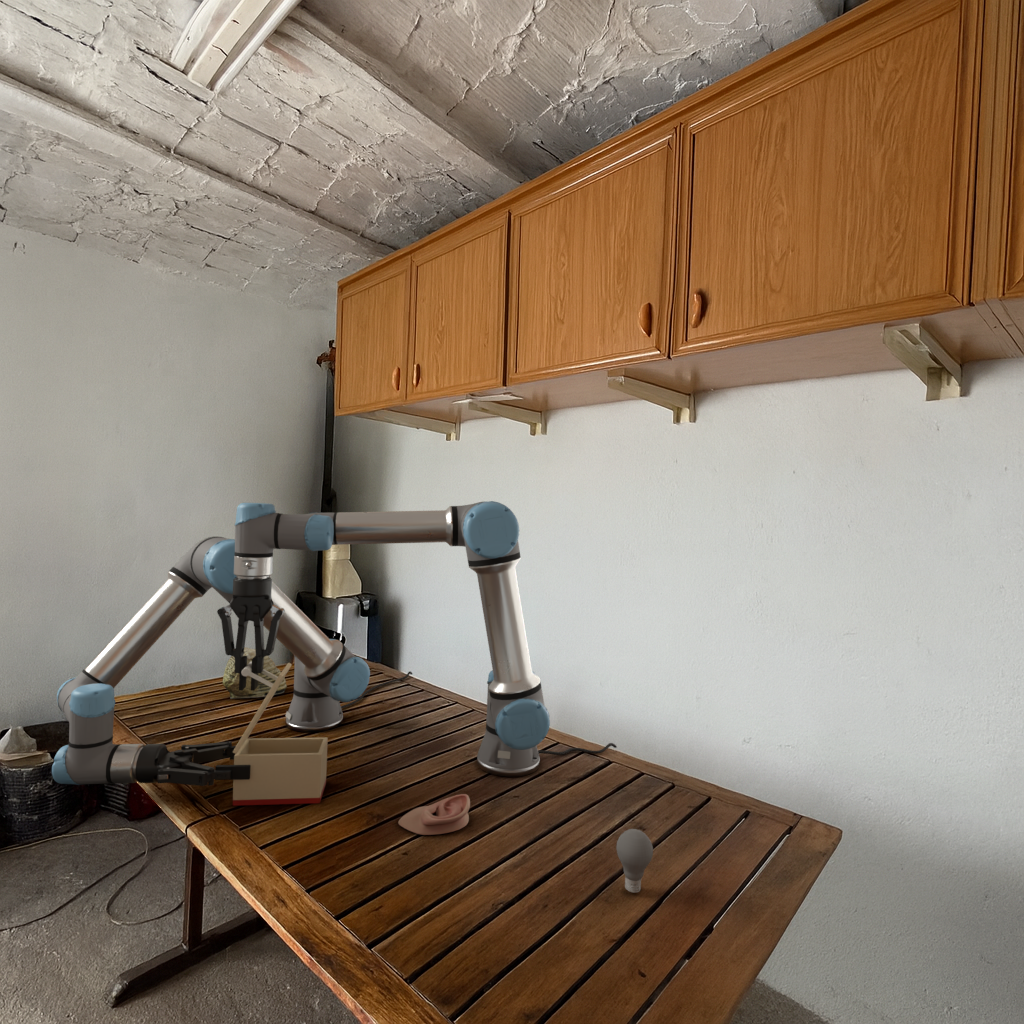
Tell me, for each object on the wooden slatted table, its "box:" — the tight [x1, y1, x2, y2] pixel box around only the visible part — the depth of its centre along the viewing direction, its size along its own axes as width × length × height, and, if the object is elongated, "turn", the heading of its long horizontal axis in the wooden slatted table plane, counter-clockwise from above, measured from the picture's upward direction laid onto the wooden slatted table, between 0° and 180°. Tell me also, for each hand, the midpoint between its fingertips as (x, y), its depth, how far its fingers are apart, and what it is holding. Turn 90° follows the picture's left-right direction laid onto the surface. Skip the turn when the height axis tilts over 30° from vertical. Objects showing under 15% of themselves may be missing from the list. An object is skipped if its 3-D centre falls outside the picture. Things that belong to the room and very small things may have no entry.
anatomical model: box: [397, 793, 471, 836], centre depth 125 cm, size 13×4×12 cm
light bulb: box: [615, 828, 654, 894], centre depth 106 cm, size 6×6×10 cm
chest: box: [232, 736, 329, 807], centre depth 134 cm, size 17×9×10 cm, turn 99°
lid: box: [233, 661, 293, 754], centre depth 133 cm, size 18×9×8 cm
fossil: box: [222, 646, 288, 699], centre depth 198 cm, size 9×18×15 cm, turn 132°
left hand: (256, 761), depth 133 cm, fingers closed on chest, 9 cm apart
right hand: (248, 688), depth 133 cm, fingers closed on lid, 2 cm apart
